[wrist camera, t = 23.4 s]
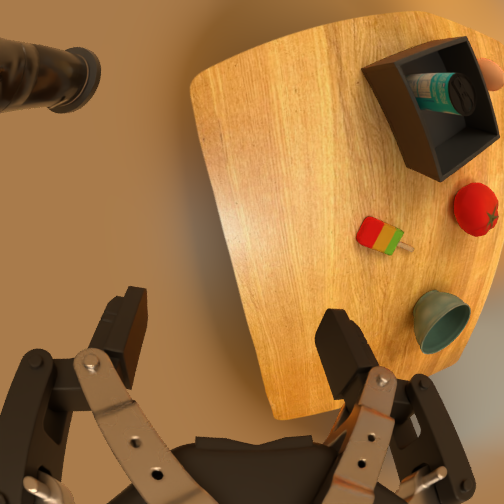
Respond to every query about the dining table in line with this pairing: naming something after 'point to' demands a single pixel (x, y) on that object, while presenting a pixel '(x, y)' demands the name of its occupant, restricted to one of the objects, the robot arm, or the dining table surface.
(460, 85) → the beverage can
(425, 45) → the bin
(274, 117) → the dining table surface
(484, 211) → the tomato
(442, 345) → the flower pot
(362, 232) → the popsicle
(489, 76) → the egg
